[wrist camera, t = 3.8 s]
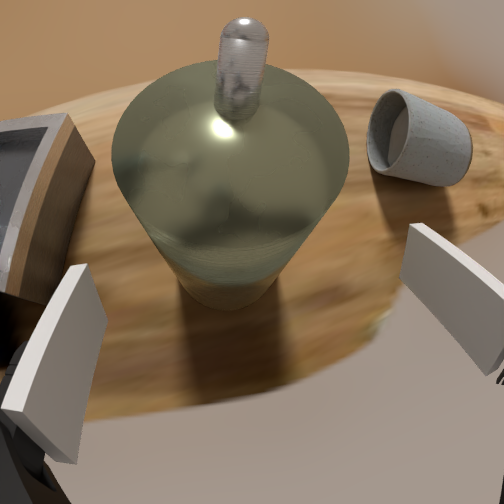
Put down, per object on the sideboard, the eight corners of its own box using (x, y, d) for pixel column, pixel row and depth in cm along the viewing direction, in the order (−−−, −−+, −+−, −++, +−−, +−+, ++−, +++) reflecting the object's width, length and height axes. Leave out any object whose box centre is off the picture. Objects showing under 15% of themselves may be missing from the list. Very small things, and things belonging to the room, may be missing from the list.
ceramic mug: (442, 202, 25) (491, 162, 18) (372, 190, 24) (416, 137, 17) (418, 121, 28) (451, 77, 21) (355, 104, 28) (382, 50, 20)
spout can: (271, 315, 21) (406, 226, 5) (169, 303, 20) (32, 184, 5) (278, 221, 23) (361, 25, 7) (185, 210, 22) (142, 2, 7)
